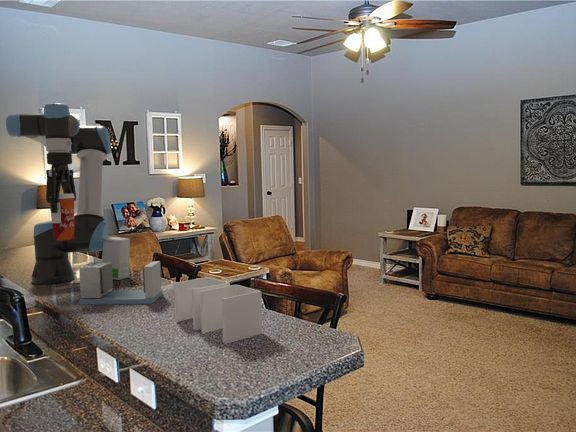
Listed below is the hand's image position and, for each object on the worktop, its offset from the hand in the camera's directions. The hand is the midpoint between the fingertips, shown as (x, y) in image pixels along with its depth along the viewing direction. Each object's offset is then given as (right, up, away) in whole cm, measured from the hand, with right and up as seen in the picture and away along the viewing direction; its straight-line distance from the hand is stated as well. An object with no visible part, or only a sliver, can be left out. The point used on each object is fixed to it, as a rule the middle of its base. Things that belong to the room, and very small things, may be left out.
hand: (63, 221), depth 171 cm
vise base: (+20, -25, -2) cm, 32 cm away
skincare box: (+7, -22, +32) cm, 40 cm away
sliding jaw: (+12, -24, -2) cm, 27 cm away
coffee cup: (0, -6, 0) cm, 6 cm away
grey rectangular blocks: (+55, -28, -35) cm, 71 cm away
